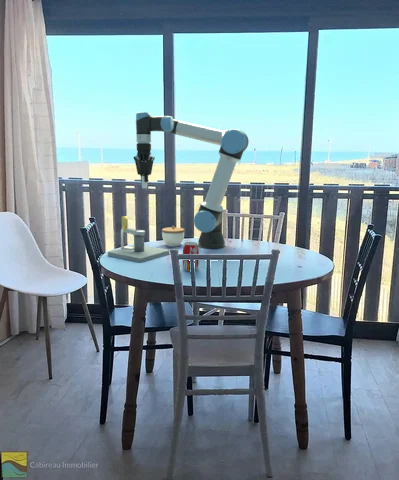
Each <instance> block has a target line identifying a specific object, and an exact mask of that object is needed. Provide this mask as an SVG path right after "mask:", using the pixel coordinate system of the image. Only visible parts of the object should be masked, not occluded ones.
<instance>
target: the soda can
mask: <svg viewBox="0 0 399 480" xmlns="http://www.w3.org/2000/svg"><path fill="white" fill-rule="evenodd" d="M199 248H200V246H198V242H194V241H186V242H184V244H183V247H182V255H183V254H199V255H200V250H199ZM199 262H200V260H195V261H194V263H195V271H197V270H198V269H199V264H200V263H199ZM182 269H183V270H185V271H186V272H191V271H190V261H189V260H183V259H182ZM195 271H194V272H195Z"/></svg>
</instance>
